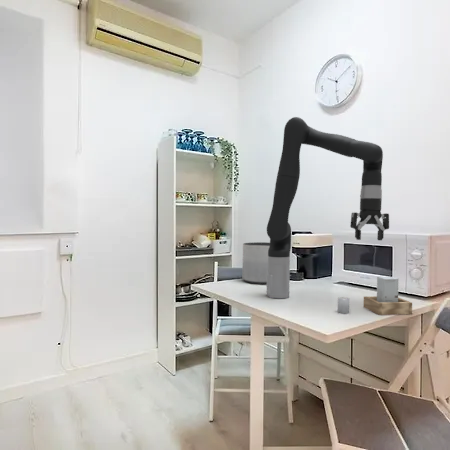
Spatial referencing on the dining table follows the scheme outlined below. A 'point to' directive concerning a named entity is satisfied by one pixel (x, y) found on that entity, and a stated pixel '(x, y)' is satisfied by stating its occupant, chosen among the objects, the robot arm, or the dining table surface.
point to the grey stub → (343, 305)
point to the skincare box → (387, 289)
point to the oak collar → (387, 306)
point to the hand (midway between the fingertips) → (369, 240)
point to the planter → (255, 262)
